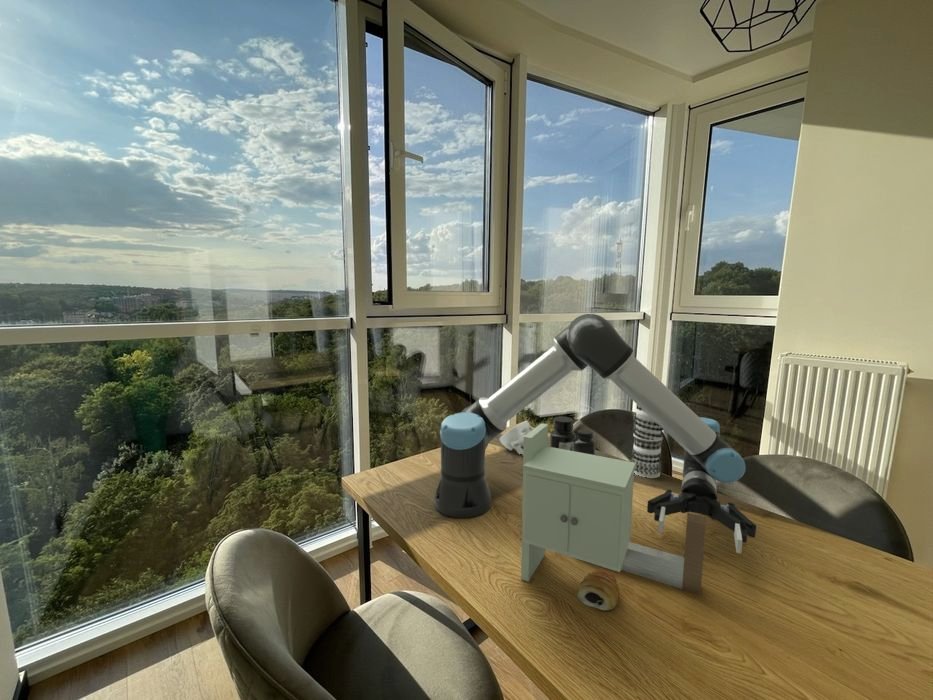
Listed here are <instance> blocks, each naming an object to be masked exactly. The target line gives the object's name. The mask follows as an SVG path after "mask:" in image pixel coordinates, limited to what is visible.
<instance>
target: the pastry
mask: <svg viewBox="0 0 933 700" xmlns="http://www.w3.org/2000/svg"><path fill="white" fill-rule="evenodd" d="M617 582H618V581H617V578H616V576H615V575H614V574H612V573H610V572H608V571H606V570H605V569H597V570H593V571H591V572H589V573H588V574H587V575H585V576H584V578H583V579H582V580H581V581H580V582H579V588H578V591H577V592H576V596H577V598H578V600H579V602H581V603H582V604H583V605H585V606H587V607H591V608H594V609H595V608H596V609H598V610H600V611H604V612H606V611H611V610H613V609H615V607H616V606H617V605H618V599H619V597H620V596H619V595H620V592H619V585H618V583H617Z"/></svg>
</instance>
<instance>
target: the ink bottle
mask: <svg viewBox="0 0 933 700" xmlns="http://www.w3.org/2000/svg"><path fill="white" fill-rule="evenodd" d="M549 435H550V437H549V447H553V448H559V449H564V450H569V451H573V448H574V440H575V439H576V438H577V434H576V433H575V432H574V419H573V418H571V417H569V416H556V417H555V416H554V418H553V431H551V432H550V434H549Z"/></svg>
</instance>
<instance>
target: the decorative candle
mask: <svg viewBox="0 0 933 700" xmlns="http://www.w3.org/2000/svg"><path fill="white" fill-rule="evenodd" d="M635 405H636V407H635V409H634V410H635V411H634V413H632V416H633V419H632V422H633V425H632V426H633V429H632V433H633V434H632V435H633V437H634V442H633V448H632V450H631V452H632V454H631V457H632V458H631V462H634V463H636V467H635V470H634V473H635V474H634V475H635V476H638V475H639V476H638V477H641V476H642V477H641V478H645V477H647V478H646V479H657V478H660V476H661V467H662V463H661V461H662V456H663V453H662V452H661V451H662V446H661V443H662V442H661V441H663V437H664V434H663V433H662V431H665V430H664V429H663V428H662V427H661V426H660V425H659V424H658V423H656V422H655V421H654V420H653V419H652V418H651V417H650V416H649V415H648V414H647V413H646V412H645V411H644V410H643V409H642V408H640V407H639V406H638V405H637V404H636V403H635Z"/></svg>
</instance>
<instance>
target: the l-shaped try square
mask: <svg viewBox="0 0 933 700" xmlns="http://www.w3.org/2000/svg"><path fill="white" fill-rule="evenodd" d="M706 518H707V516H704V515H697V514H696V513H695V514H694V513H691V512H687V517H686V530H685V531H686V532H685V543H684V556H681V555H678V554H674V553H670V552H666V551H663V550H660V549H656V548H653V547H649V546H645V545H643V544H639V543H634V542H631V541H629V545H628V548H627V551H626V554H625V557H624V561H623V564H622V567H621V570H620V571H624V572H626V573H630V574H633V575H637V576H639V577H643V578H646V579H648V580H653V581H656V582H659V583H661V584H665V585H668V586H672V587H675V588H679V589H681V590H682V591H685V592H688V593H691V594H694V595H697V596H701V592H702V591H701V590H702V578H703V567H704V552H705V541H706V540H705V539H706V538H705V537H706V527H707V525H706V524H707V519H706Z"/></svg>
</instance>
